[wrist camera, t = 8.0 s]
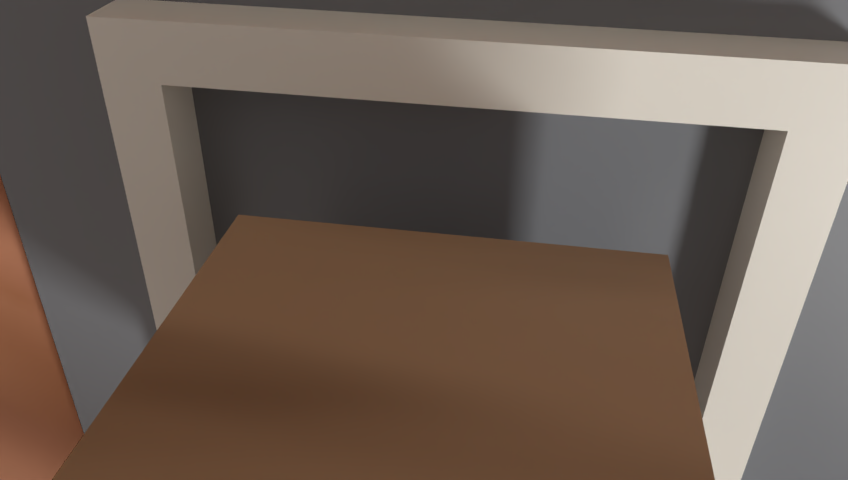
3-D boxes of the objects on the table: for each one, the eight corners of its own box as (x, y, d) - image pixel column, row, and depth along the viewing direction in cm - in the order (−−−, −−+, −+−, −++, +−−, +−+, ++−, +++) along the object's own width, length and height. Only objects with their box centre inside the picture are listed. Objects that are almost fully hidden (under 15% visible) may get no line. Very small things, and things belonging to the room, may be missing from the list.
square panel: (797, 610, 15) (816, 682, 14) (130, 513, 17) (98, 570, 16) (1195, -211, 8) (1311, -203, 6) (-96, -238, 9) (-191, -236, 8)
